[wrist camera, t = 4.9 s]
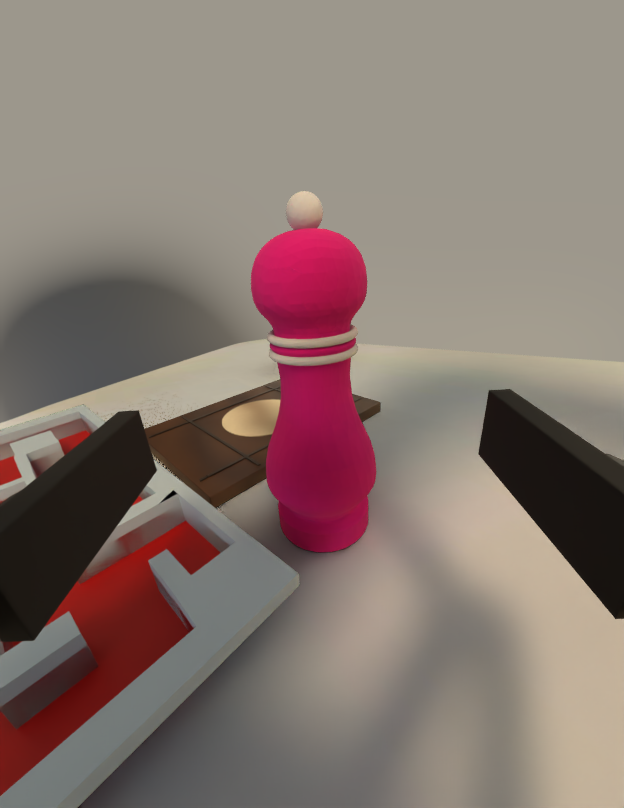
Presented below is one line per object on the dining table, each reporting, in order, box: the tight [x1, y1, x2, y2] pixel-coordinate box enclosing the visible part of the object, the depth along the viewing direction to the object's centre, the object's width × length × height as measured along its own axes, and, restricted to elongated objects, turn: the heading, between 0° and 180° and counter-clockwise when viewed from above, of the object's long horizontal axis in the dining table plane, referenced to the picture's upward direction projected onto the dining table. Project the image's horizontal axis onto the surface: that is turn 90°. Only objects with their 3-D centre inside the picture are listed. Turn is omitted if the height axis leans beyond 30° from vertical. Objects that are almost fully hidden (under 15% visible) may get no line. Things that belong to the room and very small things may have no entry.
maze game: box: [0, 404, 300, 808], centre depth 21 cm, size 35×20×3 cm, turn 48°
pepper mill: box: [251, 191, 376, 552], centre depth 20 cm, size 7×7×20 cm
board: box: [144, 379, 380, 508], centre depth 37 cm, size 22×16×1 cm
